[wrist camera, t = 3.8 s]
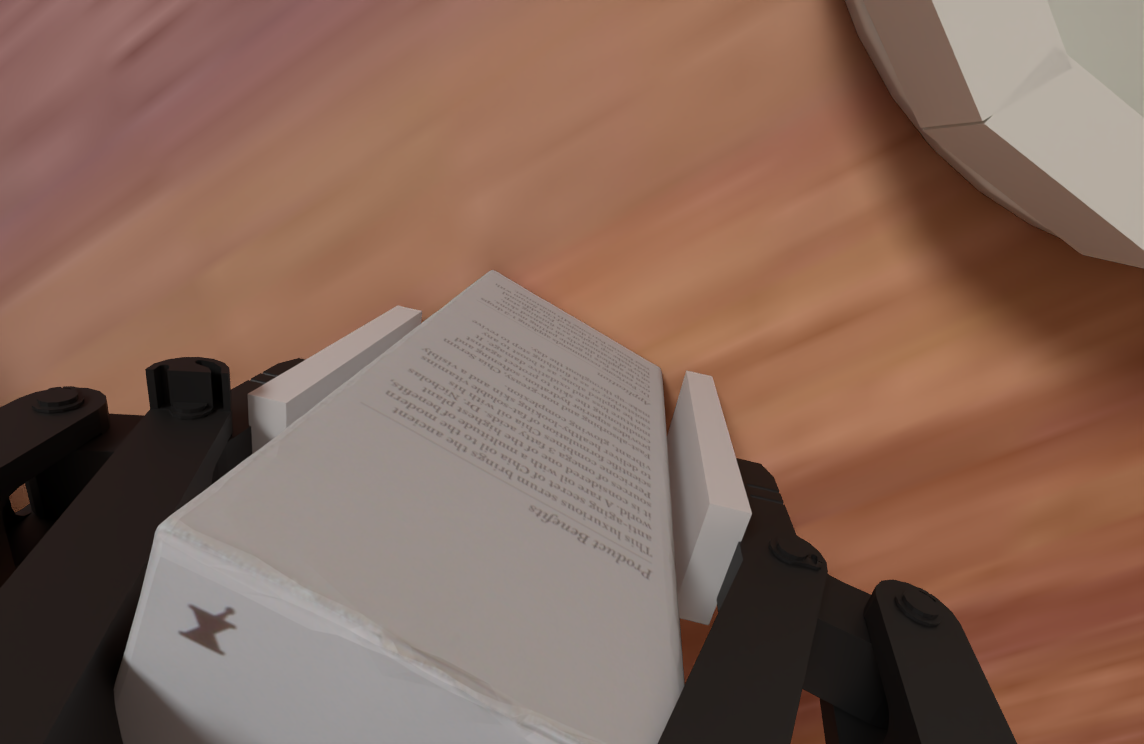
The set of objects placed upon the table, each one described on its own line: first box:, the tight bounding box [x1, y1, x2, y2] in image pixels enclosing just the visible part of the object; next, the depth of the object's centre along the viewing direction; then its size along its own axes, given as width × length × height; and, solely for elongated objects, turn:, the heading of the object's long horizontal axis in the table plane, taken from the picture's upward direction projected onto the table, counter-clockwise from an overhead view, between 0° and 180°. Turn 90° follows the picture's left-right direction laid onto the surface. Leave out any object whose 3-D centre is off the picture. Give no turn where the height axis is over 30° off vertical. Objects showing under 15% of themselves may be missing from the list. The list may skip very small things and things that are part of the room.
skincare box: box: [114, 270, 685, 744], centre depth 11 cm, size 6×4×12 cm
